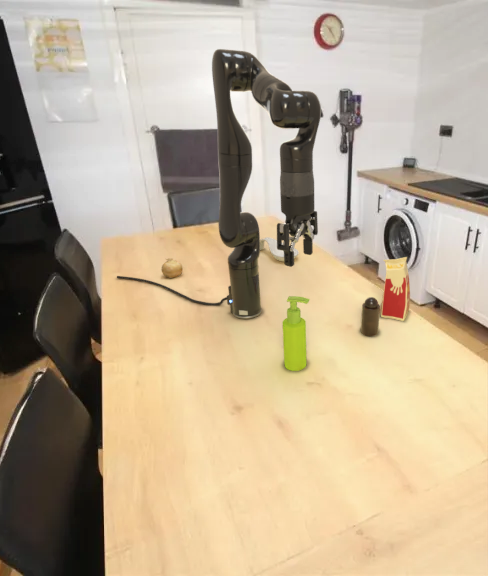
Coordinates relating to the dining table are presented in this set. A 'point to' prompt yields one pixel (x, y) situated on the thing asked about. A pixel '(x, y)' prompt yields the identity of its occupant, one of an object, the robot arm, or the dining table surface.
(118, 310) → the dining table surface
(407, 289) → the red cream snack bag
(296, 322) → the soap dispenser
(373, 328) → the pepper mill
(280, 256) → the spoon rest
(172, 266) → the onion
